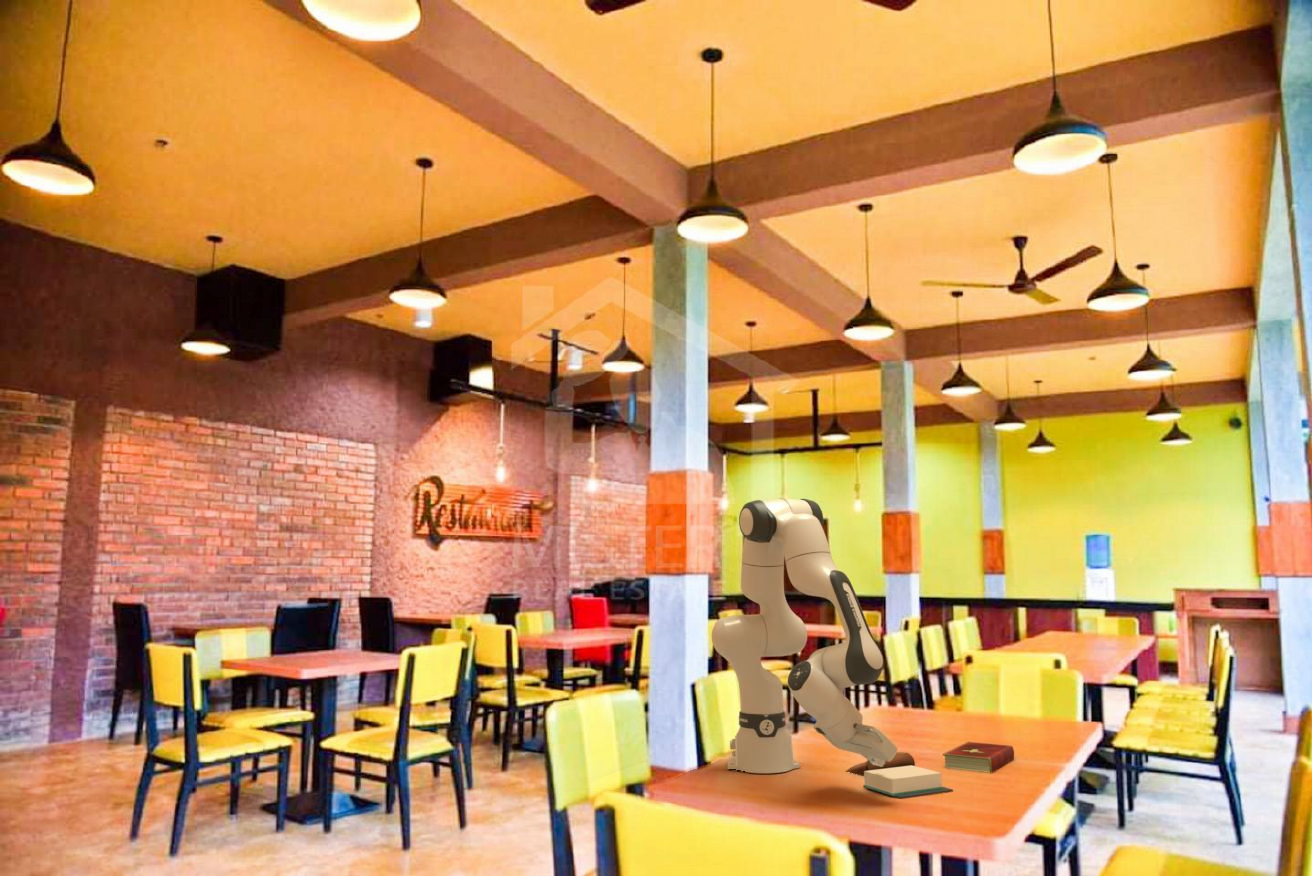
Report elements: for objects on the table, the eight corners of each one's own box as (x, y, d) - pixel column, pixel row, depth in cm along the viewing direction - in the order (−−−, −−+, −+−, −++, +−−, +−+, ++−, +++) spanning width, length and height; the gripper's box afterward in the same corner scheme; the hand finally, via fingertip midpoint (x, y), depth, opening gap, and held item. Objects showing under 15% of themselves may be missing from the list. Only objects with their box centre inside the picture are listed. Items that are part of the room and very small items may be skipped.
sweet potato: (888, 762, 238) (898, 741, 236) (908, 780, 232) (918, 759, 230) (842, 772, 227) (852, 750, 225) (862, 791, 221) (872, 769, 220)
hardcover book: (1014, 761, 240) (1013, 744, 241) (991, 775, 223) (990, 757, 224) (969, 756, 247) (968, 740, 247) (943, 770, 230) (942, 752, 231)
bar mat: (900, 798, 198) (900, 796, 198) (863, 787, 210) (863, 785, 210) (953, 791, 204) (952, 789, 204) (914, 780, 216) (914, 778, 216)
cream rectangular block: (892, 779, 200) (941, 773, 206) (863, 771, 209) (911, 765, 215) (892, 796, 199) (942, 789, 205) (864, 787, 208) (912, 780, 214)
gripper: (879, 716, 194) (917, 760, 197) (824, 706, 213) (860, 745, 215) (863, 740, 192) (902, 783, 194) (808, 727, 210) (845, 767, 213)
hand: (879, 763), depth 205 cm, fingers closed
